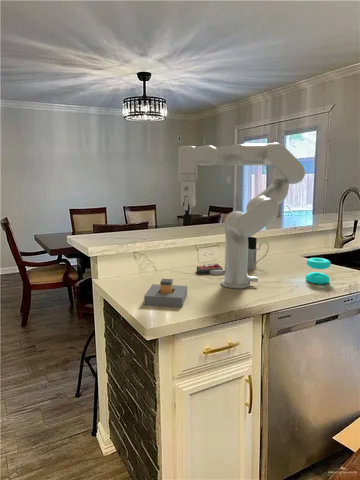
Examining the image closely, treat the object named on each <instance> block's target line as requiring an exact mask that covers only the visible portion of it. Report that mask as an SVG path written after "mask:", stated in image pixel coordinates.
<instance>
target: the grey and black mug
mask: <svg viewBox="0 0 360 480" xmlns="http://www.w3.org/2000/svg"><path fill="white" fill-rule="evenodd" d="M257 239H258V238H256V237H253V236H251V237H248V263H247V270H256V269H257V264H258V263H259V261H261V260H262V259H264V258H265V257H266V256H267V254H268V252H269V249H270V248H269V247H270V246H269V243H268V242H267V241H262V242H260V243H259V247H258V248H257ZM263 243H265V244H267V250H266V252H265V254H264V255H263V256H262V257H261V258H260V259H257V251H258V250H260V249H261V245H262V244H263Z"/></svg>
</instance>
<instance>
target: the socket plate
mask: <svg viewBox="0 0 360 480" xmlns="http://www.w3.org/2000/svg"><path fill="white" fill-rule="evenodd" d="M143 297H144V298H143V300H144V302H143V305H144V306H152V307H153V306H155V307H156V306H157V307H170V308H171V307H175V308H183V307H184V304H185V302H186V300H187V297H188V285H174V284H173V293H161V285H160V284H157V283H156V284H154V283H153V284H152V285H151V286H150V287H149V289H148V290H147V291H146V293H145V294H144V295H143Z"/></svg>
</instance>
